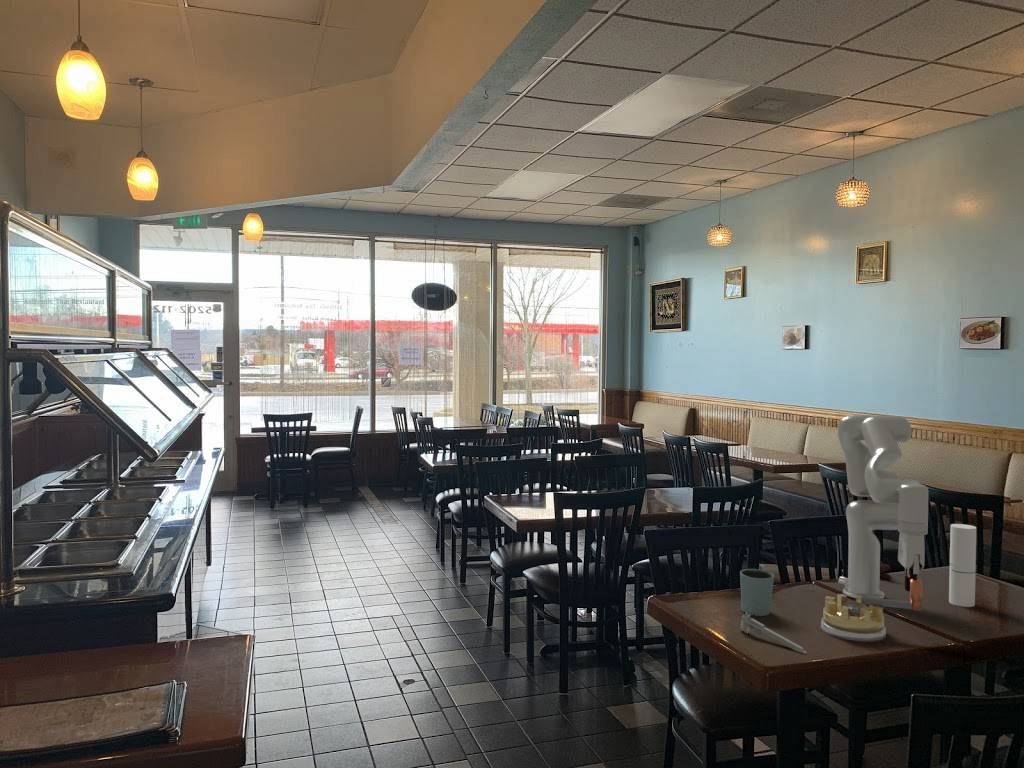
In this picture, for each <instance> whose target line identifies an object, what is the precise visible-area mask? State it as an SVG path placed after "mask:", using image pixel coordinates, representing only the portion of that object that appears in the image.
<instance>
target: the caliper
mask: <svg viewBox="0 0 1024 768" xmlns="http://www.w3.org/2000/svg"><path fill="white" fill-rule="evenodd" d="M751 616H752V615H751V614H748V612H745V613H744V614H743V615H741V618H740V619H741V620H740V632H741V631H744V632H745V634H746V633H747V634H746V635H749V634H750V633H751V631H752V630H754V632H756V633H758V634H759V635H763V634H765V635H766V636H768V637H769V638H772V639H774V640H775V641H777V642H779V643H780V644H782V645H785V646H786V647H787V648H790V649H792V650H793V651H794V652H798V653H800V654H803V655H806V654H808V652H807V650H805V649H804V647H803V646H801V645H798V644H797V643H795V642H794V641H791V640H790V639H788V638H786V637H784V636H782V635H780V634H779V633H776V632H775V631H773V630H771V629H770V628H768V627H766V625H765V624H763V623H761V622H759V621H758V620H756V619H755V618H752V617H751ZM746 625H747V627H746ZM745 630H746V631H745ZM748 633H749V634H748Z"/></svg>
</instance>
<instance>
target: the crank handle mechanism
mask: <svg viewBox="0 0 1024 768" xmlns="http://www.w3.org/2000/svg"><path fill="white" fill-rule="evenodd" d="M836 599H837V602H836ZM867 606H869V607H867ZM885 607H887V608H894V609H904V610H913V611H922V610H923V580H922V579H921V578H919V579H917V578H911V579H910V591H909V600H908V601H907V600H900V599H899V600H897V599H890V598H889V599H888V598H883V599H880V598H870V597H863V596H858V597H856V598H855V604H854V603H848V596H847V595H845V594H844V593H838V594H837V598H836V597H834V596H829V595H826V596H825V597H824V607H823V608H822V612H823V613H822V615H823V616H822V618H823V621H824V622H825V623H826V624H828V625H830V626H832V627H834V628H837V629H841V630H845V631H850V632H858V633H874V632H879V631H882V630H883V629H884V626H885V615H884V608H885Z"/></svg>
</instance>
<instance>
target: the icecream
mask: <svg viewBox="0 0 1024 768" xmlns="http://www.w3.org/2000/svg"><path fill="white" fill-rule="evenodd" d="M890 570H891V566H890V565H889V564H885V563H883V561H882V560H880V576H881V577H882V578H884V579H885V580H888V581H890V580H892V576H891V574H889V573H887V572H889V571H890ZM886 571H887V572H886Z"/></svg>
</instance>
